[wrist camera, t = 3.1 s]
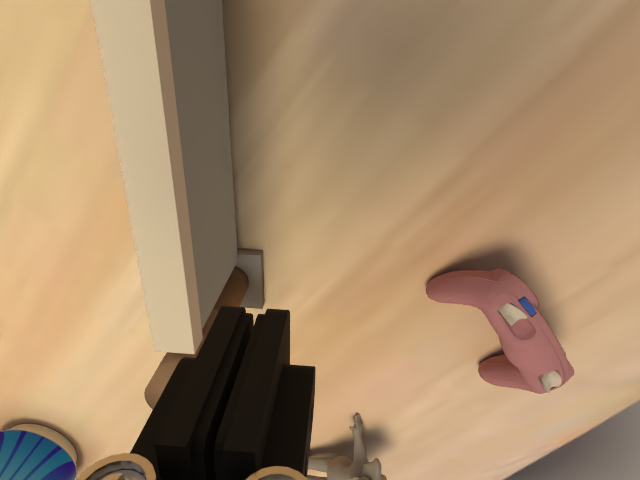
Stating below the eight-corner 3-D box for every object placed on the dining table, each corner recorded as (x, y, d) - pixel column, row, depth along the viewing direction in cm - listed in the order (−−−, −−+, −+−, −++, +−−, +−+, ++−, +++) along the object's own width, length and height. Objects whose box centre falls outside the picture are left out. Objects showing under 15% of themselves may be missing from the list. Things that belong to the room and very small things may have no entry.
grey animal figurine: (274, 414, 37) (366, 422, 32) (313, 404, 42) (399, 410, 37) (274, 545, 35) (374, 575, 30) (316, 518, 40) (407, 541, 35)
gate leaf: (184, -48, 21) (72, -98, 13) (224, -47, 21) (137, -96, 13) (212, 258, 29) (153, 351, 21) (241, 260, 29) (194, 354, 20)
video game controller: (520, 339, 33) (602, 384, 27) (477, 378, 33) (551, 433, 26) (463, 242, 30) (542, 266, 23) (415, 284, 29) (481, 320, 23)
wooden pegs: (160, -141, 21) (-36, -311, 10) (250, -140, 20) (141, -313, 10) (205, 299, 32) (133, 427, 22) (264, 303, 32) (219, 435, 21)
